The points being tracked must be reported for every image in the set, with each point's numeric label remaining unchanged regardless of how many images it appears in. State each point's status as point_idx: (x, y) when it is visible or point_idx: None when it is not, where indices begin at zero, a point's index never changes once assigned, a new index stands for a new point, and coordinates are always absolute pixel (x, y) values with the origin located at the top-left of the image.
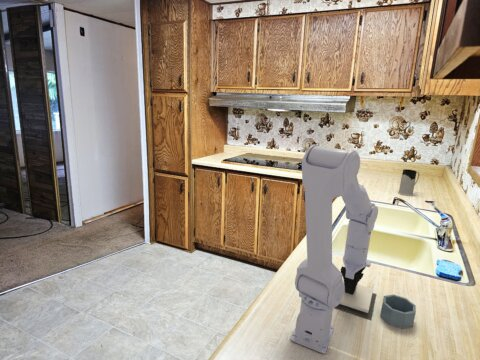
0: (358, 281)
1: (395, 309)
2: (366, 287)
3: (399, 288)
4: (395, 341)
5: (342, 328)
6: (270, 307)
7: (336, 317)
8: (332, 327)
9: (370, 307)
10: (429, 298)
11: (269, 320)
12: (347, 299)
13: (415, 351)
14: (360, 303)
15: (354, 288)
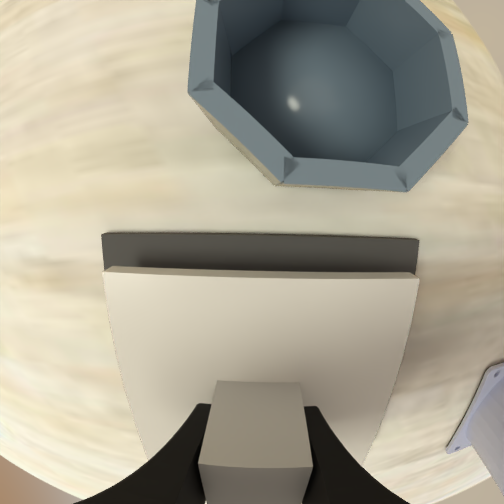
0: (402, 499)
1: (232, 95)
2: (115, 319)
3: (2, 133)
4: (482, 125)
5: (481, 344)
6: (410, 500)
7: (428, 384)
8: (494, 373)
9: (289, 257)
10: (38, 15)
11: (457, 476)
12: (349, 407)
13: (483, 60)
14: (363, 338)
15: (339, 445)
